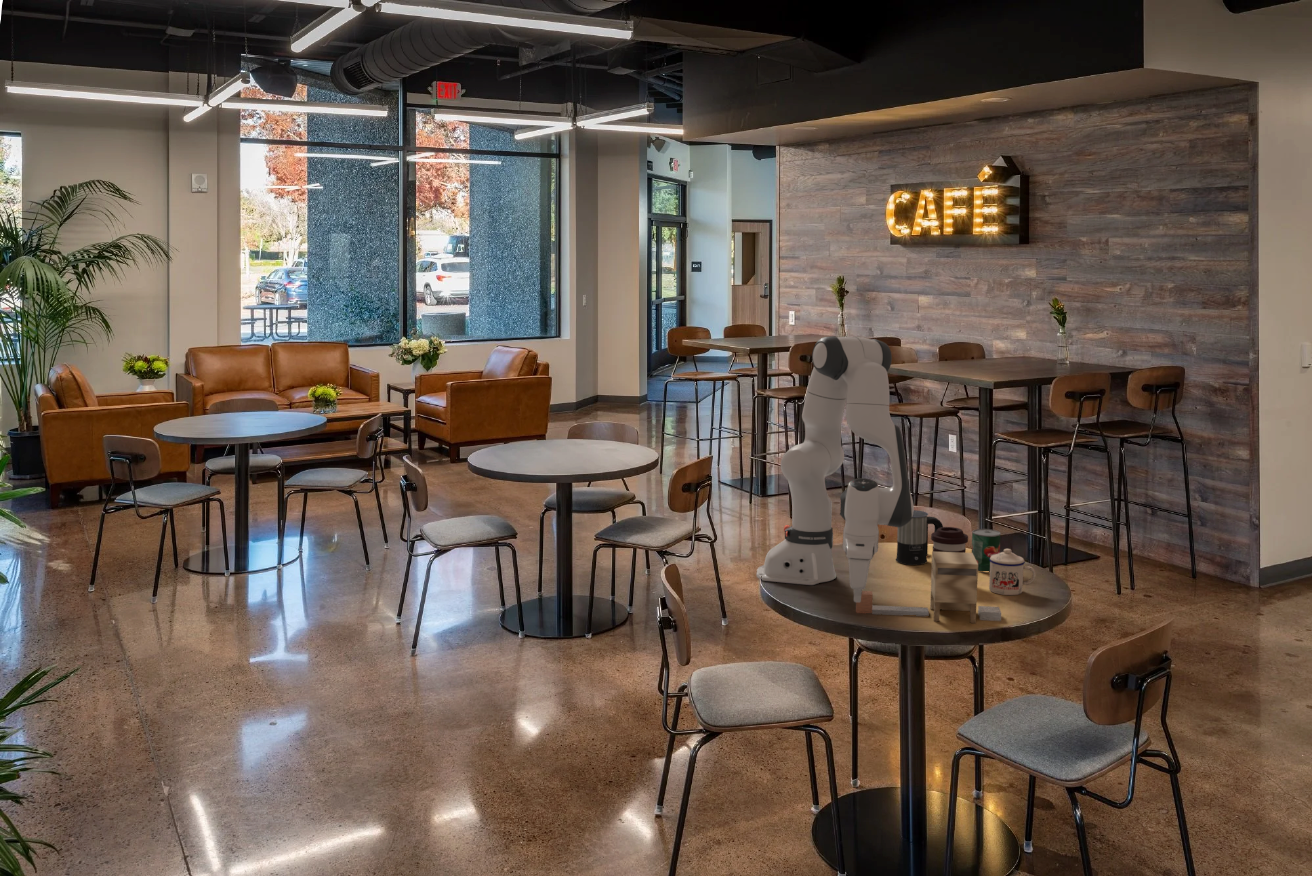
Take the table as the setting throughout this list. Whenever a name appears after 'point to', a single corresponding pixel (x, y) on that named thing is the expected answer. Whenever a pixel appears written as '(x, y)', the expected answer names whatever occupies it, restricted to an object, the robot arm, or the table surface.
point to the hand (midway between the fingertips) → (857, 595)
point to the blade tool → (886, 607)
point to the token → (989, 613)
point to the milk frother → (915, 539)
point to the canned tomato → (985, 546)
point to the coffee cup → (949, 540)
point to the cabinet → (954, 583)
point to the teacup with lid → (1007, 573)
